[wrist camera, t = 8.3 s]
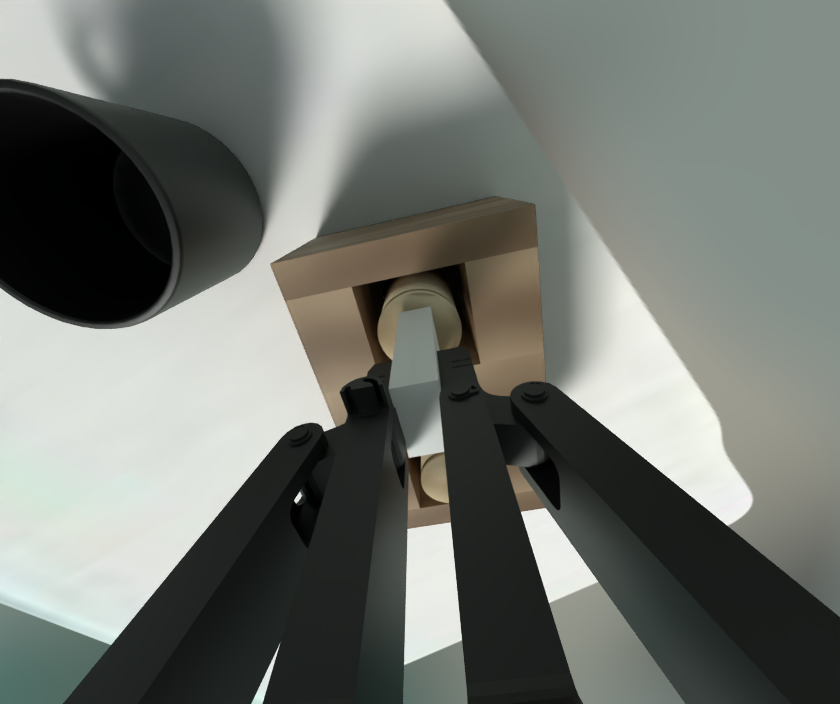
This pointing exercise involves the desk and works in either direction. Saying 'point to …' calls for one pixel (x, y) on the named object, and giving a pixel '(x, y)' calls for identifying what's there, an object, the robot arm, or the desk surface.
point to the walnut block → (411, 253)
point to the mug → (115, 208)
